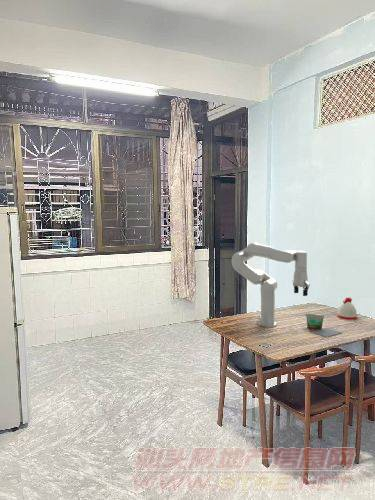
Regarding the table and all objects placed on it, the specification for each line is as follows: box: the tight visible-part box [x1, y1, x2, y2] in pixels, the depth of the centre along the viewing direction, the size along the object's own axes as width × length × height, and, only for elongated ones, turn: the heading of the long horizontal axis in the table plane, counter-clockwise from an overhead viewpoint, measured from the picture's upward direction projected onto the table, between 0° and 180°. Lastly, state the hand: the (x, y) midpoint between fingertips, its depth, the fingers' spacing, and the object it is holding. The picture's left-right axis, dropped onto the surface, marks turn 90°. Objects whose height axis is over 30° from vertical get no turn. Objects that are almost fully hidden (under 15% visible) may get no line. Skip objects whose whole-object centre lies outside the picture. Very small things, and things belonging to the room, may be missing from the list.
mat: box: [310, 327, 343, 339], centre depth 241 cm, size 12×16×1 cm
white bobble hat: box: [336, 297, 358, 320], centre depth 277 cm, size 14×14×15 cm
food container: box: [304, 312, 325, 331], centre depth 249 cm, size 12×6×10 cm, turn 68°
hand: (300, 294), depth 248 cm, fingers open, 9 cm apart
